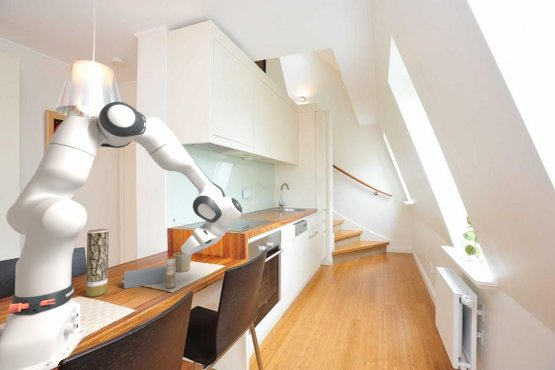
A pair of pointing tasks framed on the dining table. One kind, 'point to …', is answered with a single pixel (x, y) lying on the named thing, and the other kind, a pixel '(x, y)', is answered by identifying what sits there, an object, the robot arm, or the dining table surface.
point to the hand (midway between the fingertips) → (190, 254)
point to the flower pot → (182, 262)
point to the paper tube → (97, 262)
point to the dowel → (170, 273)
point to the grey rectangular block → (144, 277)
